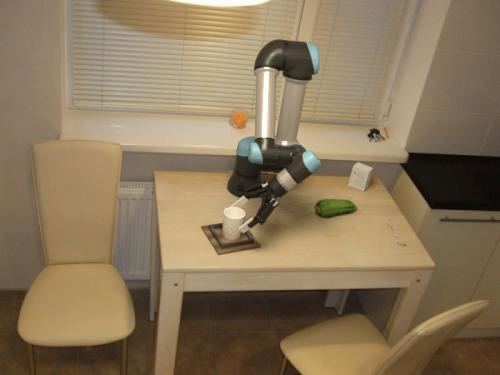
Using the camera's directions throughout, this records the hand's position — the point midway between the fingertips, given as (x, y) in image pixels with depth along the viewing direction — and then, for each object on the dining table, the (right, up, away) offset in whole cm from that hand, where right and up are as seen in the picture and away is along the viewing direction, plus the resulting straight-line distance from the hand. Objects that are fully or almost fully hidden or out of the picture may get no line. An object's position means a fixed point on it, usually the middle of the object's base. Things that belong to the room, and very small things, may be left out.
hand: (236, 219), depth 197 cm
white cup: (-2, -6, +5) cm, 8 cm away
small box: (+55, +12, +53) cm, 77 cm away
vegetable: (+41, +1, +31) cm, 51 cm away
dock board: (-2, -7, +5) cm, 9 cm away
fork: (+63, -6, +26) cm, 69 cm away
